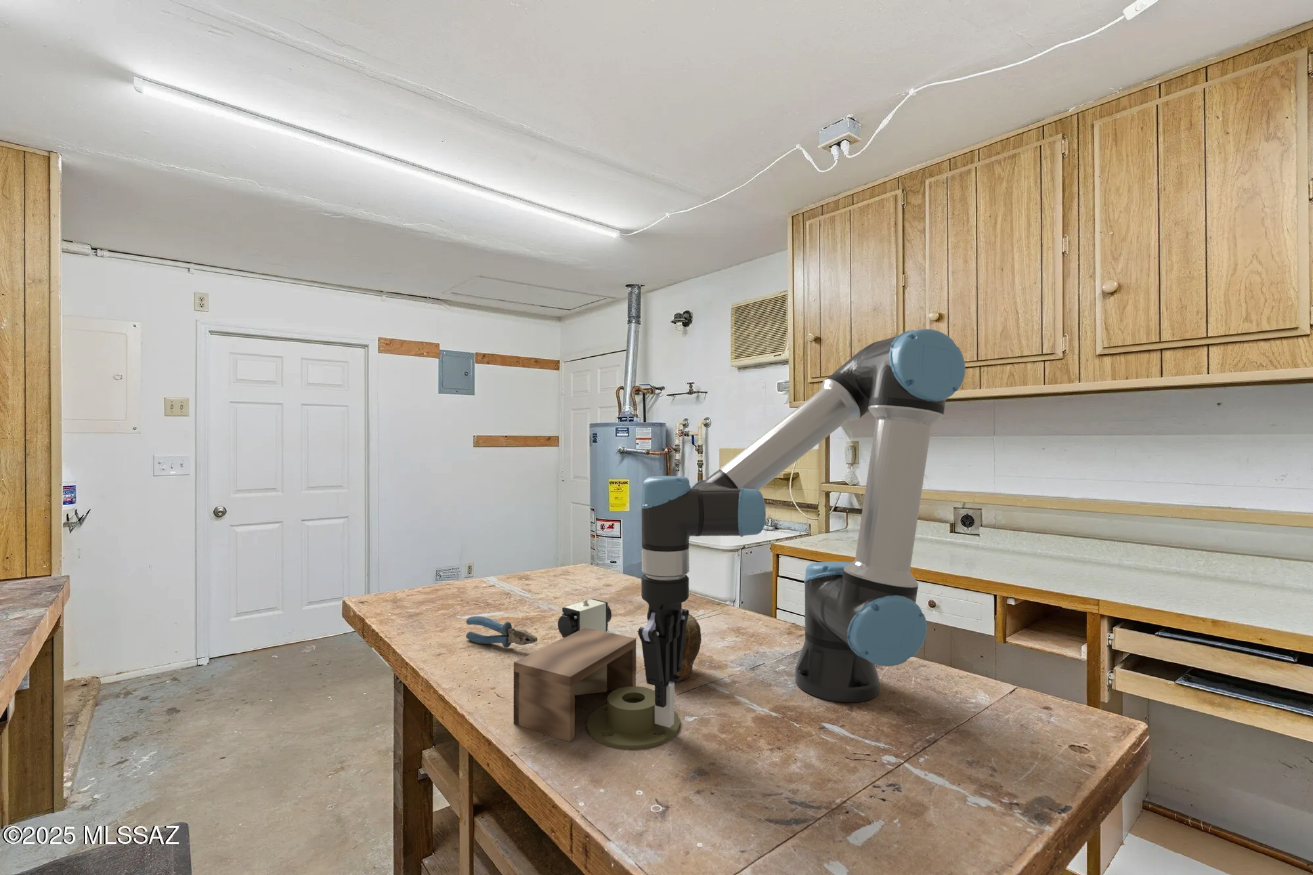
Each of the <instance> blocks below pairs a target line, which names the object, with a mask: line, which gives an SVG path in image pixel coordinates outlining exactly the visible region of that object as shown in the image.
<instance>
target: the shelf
mask: <svg viewBox="0 0 1313 875" xmlns="http://www.w3.org/2000/svg"><path fill="white" fill-rule="evenodd" d="M629 686H637V638H636V637H632V636H626V635H622V634H616V633H611V632H608V631H606V632H603V631H598V630H593V629H588V628H584V629H581V630H579V631H577V632H575V633H573V634H571V635H569V636H567V637H565V638H563V637H562V638H561V639H558V640H557V641H554V642H552V643H551V644H549V645H546V646H545V647H542V648H540V649H538V650H536V651H534V652H532V653H530V654H528V655H526V656H523V657H522V658H519V659H517V660H515V661H513V724H514V725H517V726H520V727H523V728H526V729H530V730H532V731H536V732H539V733H541V734H544V735H548V736H550V737H554V738H557V739H559V740H563V741H565V742H569V743H571V742H572V741H574V739H575V738H576V737H575V732H576V731H575V730H576V729H575V727H576V726H575V725H576V724H575V723H576V721H575V720H576V719H575V718H576V717H575V716H576V714H575V713H576V711H575V709H576V708H575V707H576V706H575V704H576V697H575V696H579V695H587V694H597V693H606V692H608V690H610V691H614V690H616V689H619V688H623V687H629Z"/></svg>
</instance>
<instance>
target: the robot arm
mask: <svg viewBox="0 0 1313 875" xmlns="http://www.w3.org/2000/svg"><path fill="white" fill-rule="evenodd" d="M965 374H966V364H965V358H964V355H963V352H962V351H961V348H960V347H959V346H957V344H956V343H955V341H954V340H953V339H952V337H950V336H948V335H947V334H945V333H944V332H942V331H940V330H935V329H931V328H922V329H916V330H914V329H911V330H907V331H904V332H902V333H900V334H899V335H895V336H893V337H892V336H891V337H890V338H886V339H882V340H879V341H874V342H872V343H870V344H868V345H866V346H865V347H863V348H862V349H860V350H858V351H857V353H856V354H854V355H852V356H851V357H850V358H849V359H848V360H847V361H846V362H844V363H843V364H842V365H841V366H840V367H839V368H837V369H836V370H835V371H834V372H833V373H832V374H831V375H829V376H828V377H826V378H825V379H824V380H822V382H821V389H820V390H819V391H818V392H816V393H814V394H813V395H812V396H811V397H810V398H808V399H807V400H806V401H804V402H803V403H802V404H801V405H799V406H798V407H797V408H796V409H794V410H793V411H792V412H790V414H789V413H788V415H787V416H785V417H784V418H783V419H781V420H780V421H778V423H777V424H775V425H774V426H772V427H771V428H770V429H769V430H768V431H765V433H763V434H762V435H761V436H760V437H759V438H757V439H756V440H754V442H752V443H751V444H750V445H748V446H747V447H746V448H745V449H743V450H742V451H740V452H739V453H738V454H737V455H735V456H734V457H733V458H732V459H730V460H729V461H728V462H727V463H725V464H723V466H721V467H720V468H719V469H718V470H717V471H715V472H713V474H711V475H710V476H709V477H707V478H706V479H704V480H703V479H702V480H699V481H696V482H695V483H693V484H692V485H690V480H689V478H688V477H686V476H678V475H656V476H655V475H654V476H653V475H652V476H649V477H647V478H646V479H645V480H644V481H643V484H642V495H641V505H640V508H641V552H640V556H641V572H642V573H643V575H642V576H641V578H640V580H641V583H640V584H641V585H640V587H641V588H640V589H641V591H640V592H641V593H640V594H641V595H640V596H641V599H642V600H643V601H644V602H646V603H647V604H648V609H647V614H646V619H647V623H646V625H645V627H643V626H640V627H639V628H638V631H637V634H638V637H639V639H640V642H641V648H642V657H643V664H644V665H643V666H644V672H645V681H646V684H647V685H651V686H654V691H655V724H658V725H662V726H665V727H669V728H670V727H671V726H672V725H673V724H674V711H675V682H677V683H679V682H680V681H681V680H680V679H681V676H677V672H679V673H680V672H681V669H682V661H683V651H684V642H685V632H686V624H687V620H688V616H689V614H690V611H689V609H686V608H683V605H682V604H683V603H684V602H686V601H687V600H688V599H689V597H690V589H689V588H690V577H689V576H688V575H687V574H689V572H690V537H726V536H727V537H732V536H733V537H741V538H743V537H744V536H756V535H759V534H761V533H762V531H763V529H764V528H765V526H766V525H765V524H766V520H767V518H766V517H767V510H766V502H765V498H764V495H763V494H762V492H761V491H760V490H761V489H762V488H764V487H765V486H767V484H769V483H770V482H771V481H773V480H774V479H775V478H777V477H778V476H779V475H780V474H782V473H783V472H784V471H785V470H787V469H788V468H789V467H790V466H792V465H793V464H794V463H796V462H797V461H798V460H799V459H801V458H802V457H804V455H806V454H807V453H808V452H810V451H811V450H812V449H813V448H814V447H816V446H818V445H819V444H820V443H821V442H822V441H824V440H825V439H826V438H827V437H829V436H830V435H831V434H832V433H833V432H835V431H836V430H838V429H839V428H840V427H842V426H843V425H844V424H845V423H846V422H848V421H851V422H856V421H858V420H860V419H861V417H863V416H864V415H866V414H867V413H870V414H871V415H872V416H873V417H874V419H875V423H874V430H873V437H872V444H871V450H870V456H869V464H868V470H867V478H866V482H865V483H866V484H865V491H864V496H863V497H864V498H863V505H862V511H861V516H860V517H861V518H860V523H859V524H860V525H859V531H858V536H857V537H858V538H857V542H856V544H857V545H856V551H855V558H854V560H853V561H852V562H851V561H821V562H820V561H818V562H817V561H816V562H812V563H810V564H808V565H807V566H806V568H805V573H804V580H803V583H804V642H803V645H802V648H801V651H800V653H799V657H798V658H797V662H796V665H795V671H794V675H795V676H794V677H795V678H794V679H795V684H796V686H797V687H798V688H799V689H801V690H803V691H804V692H806V693H807V694H809V695H811V696H813V697H817V698H819V699H823V700H827V701H832V702H841V703H859V702H866V701H869V700H872V699H874V698H876V696H878V695H879V693H880V677H879V674H878V671H877V667H876V665H877V666H878V667H879V666H880V667H895V666H899V665H902V664H904V663H906V662H907V660H909V659H911V658H913V657H915V656H916V655H917V654H918V652H919V651H920V650H921V648H922V646H923V645H924V643H925V640H926V636H927V631H928V623H927V619H926V616H925V614H924V613H923V611H922V609H921V608H920V606H919V605H918V604H917V597H918V595H917V594H918V588H919V582H918V581H917V579H916V578H915V577H914V575H913V574H912V572H911V566H912V560H913V553H914V546H915V539H916V532H917V528H918V527H917V526H918V520H919V518H918V517H919V514H920V513H919V512H920V507H921V506H920V504H921V500H922V499H921V498H922V493H923V491H922V490H923V485H924V479H925V478H924V477H925V472H926V471H925V470H926V465H927V459H928V452H929V445H930V439H931V430H932V427H933V426H934V425H935V424H937V423H938V422H939V421H940V420H941V419H943V418H944V415H945V407H946V403H947V402H946V401H947V400H948V398H950V397H952V396H953V395H954V394H955V392H958V391H959V389H960V388H961V386H962V385H963V383H964V379H965V376H966V375H965Z"/></svg>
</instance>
